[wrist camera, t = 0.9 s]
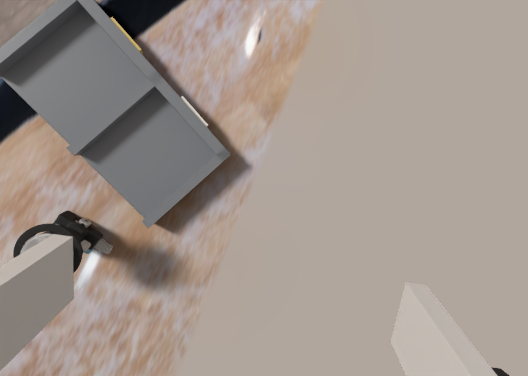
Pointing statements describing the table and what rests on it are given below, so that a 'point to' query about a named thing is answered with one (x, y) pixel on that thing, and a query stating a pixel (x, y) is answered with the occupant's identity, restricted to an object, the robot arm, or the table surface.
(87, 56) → the gray divided compartment tray
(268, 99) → the table surface
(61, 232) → the push button
